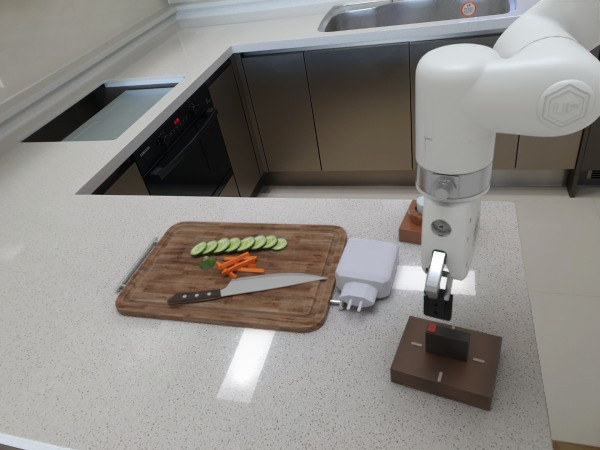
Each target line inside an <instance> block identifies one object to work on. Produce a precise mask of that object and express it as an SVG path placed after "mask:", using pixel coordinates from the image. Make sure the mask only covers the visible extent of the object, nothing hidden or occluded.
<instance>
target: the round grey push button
mask: <svg viewBox="0 0 600 450" xmlns="http://www.w3.org/2000/svg"><path fill="white" fill-rule="evenodd" d="M416 200H417V212H418V213H420V214H422V213H423V205H424V196H423V195H421V196H419V197H417V198H416Z"/></svg>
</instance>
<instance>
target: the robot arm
mask: <svg viewBox="0 0 600 450" xmlns="http://www.w3.org/2000/svg"><path fill="white" fill-rule="evenodd" d="M598 46H600V0H539V1H538V2H537V3H535V4H533V6H531V7H529V9H528V10H526V11H525V12H524V13H523V14H521V15H520V16H519V17H517V18H516V19H514V21H513V22H512V23H511V24H510V25H509V26H507V28H506V29H505V30H504V31H503V32H502V33H501V35H500V36H499V37H498V39H497V40H496V42H495V43H494V45H493V46H492V47H490V46H487V45H484V44H477V43H455V44H447V45H442V46H440V47H436V48H433V49H432V50H429V51H427V52H425V54H424V55H422V56H421V58H420V59H419V61H418V63H417V65H416V69H415V77H414V78H415V81H414V85H415V87H414V89H415V90H414V93H415V94H414V95H415V97H414V100H415V103H414V104H415V105H414V106H415V107H414V109H415V111H414V112H415V113H414V114H415V120H414V123H415V127H414V128H415V188H416V190H417V191H418V193H419V194H420V195H421V196H424V205H423V213H422V215H423V220H422V240H421V247H420V263H421V269H422V271H423V272H424V274H426V276H425V277H426V278H425V283H424V288H423V309H422V311H423V315H424V316H425V317H430V318H433V319H438V320H442V321H446V322H450V321H452V318H453V305H454V294H452V289H453V282H454V280H457V281H464V280H465V279H466V278H467V277H468V275H469V272H470V269H471V265H472V262H473V258H474V255H475V251H476V248H477V244H478V241H479V237H480V236H479V235H480V229H481V228H480V227H481V208H482V197H484V196H485V195H486V194H488V192H489V190H490V188H491V181H492V172H493V163H494V155H495V154H494V153H495V147H496V136H497V134H505V135H506V134H507V135H518V136H527V137H535V138H537V137H538V138H552V137H562V136H568V135H571V134H574V133H577V132H580V131H581V130H583V129H585V128H587V127H589V126H590V125H592V124H593V123H594V122H595V121H596V120H597V119H598V118H600V60H599V59H598V58H597V57H596V56H595V55H593V53H591V51H592V50H593V49H595V48H597V47H598ZM445 266H446V269H447V270H448V271H447V270H444V269H445ZM442 278H446V282H445V287H444V288H441V283H442V282H441V281H442Z"/></svg>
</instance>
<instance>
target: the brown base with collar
mask: <svg viewBox="0 0 600 450" xmlns="http://www.w3.org/2000/svg"><path fill="white" fill-rule="evenodd" d="M405 212H406V213H405V215H404V217H403V219H402V221H401V223H400V225H399V227H398V241H399V242H402V243H403V242H404V243H409V244H415V245H421V240H422V220H423V215H422V214H420V213H418V212H417V199H411V202H410V204H409V205H408V208H407V210H406V211H405Z"/></svg>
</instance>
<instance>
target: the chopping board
mask: <svg viewBox="0 0 600 450" xmlns="http://www.w3.org/2000/svg"><path fill="white" fill-rule="evenodd" d="M158 239H159V238H158V237H157V236H154V238H153V239H152V240H151V241H150V242H149V244H148V245H147V246H146V248H145V249H144V250H143V252H142V253H141V254H140V256H139V257H138V258H137V259H136V260H135V262H134V263H133V265H132V266H131V267H130V268H129V269H128V271H127V272H126V273H125V274H124V276H123V278H122V279H121V280H120V281H119V283H118V284H117V285H116V287H115V288H114V291H115V292H119V291H120V289H121V288H122V290H121V291H120V293H119V294H118V295H117V297H116V299H115V302H114V303H115V304H114V306H115V308H116V310H117V311H118V312H119V314H120V315H123V316H126V317H135V318H136V317H137V318H145V319H156V320H157V319H158V320H168V321H178V322H186V323H187V322H188V323H189V322H190V323H197V324H209V325H217V326H229V327H237V328H239V327H240V328H250V329H260V330H268V331H278V332H280V331H281V332H291V333H298V334H299V333H301V334H302V333H304V334H305V333H312V332H315V331H317V330H319V329H320V328H321V327H322V326H324V325H325V322H326V321H327V318H328V314H329V310H330V307H331V304H338V309H339V310H344V307H345V304H346V303H345V302H343V301H342V300H341V299H340V300H339V299H333V295H334V293H335V288H336V278H335V271H336V269H337V266H338V264H339V261H340V259H341V256H342V254H343V251H344V249H345V246H346V244H347V241H348V234H347V230H345V227H342V226H340V225H337V224H336V225H335V224H312V223H311V224H310V223H308V224H306V223H273V222H272V223H271V222H269V223H267V222H229V221H195V220H194V221H193V220H191V221H190V220H186V221H180V222H177V223H175V224H172V225H171V226H170V227H169V228H168V229H167V230H166V231H165V233H164V234H163V235H162V236H161V238H160V239H159V240H158ZM155 244H156V245H155ZM153 246H154V247H153ZM151 249H152V250H151ZM150 250H151V251H150ZM149 251H150V252H149ZM147 254H148V255H147ZM146 255H147V256H146ZM144 258H145V259H144ZM143 259H144V260H143ZM142 261H143V262H142ZM141 262H142V263H141ZM138 266H139V267H138ZM137 267H138V269H137ZM136 269H137V270H136ZM135 270H136V271H135ZM134 271H135V272H134ZM133 273H134V274H133ZM132 274H133V275H132ZM131 275H132V276H131ZM130 276H131V278H130ZM129 278H130V279H129ZM128 279H129V281H128V282H127V280H128ZM126 282H127V283H126ZM125 283H126V284H125Z"/></svg>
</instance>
